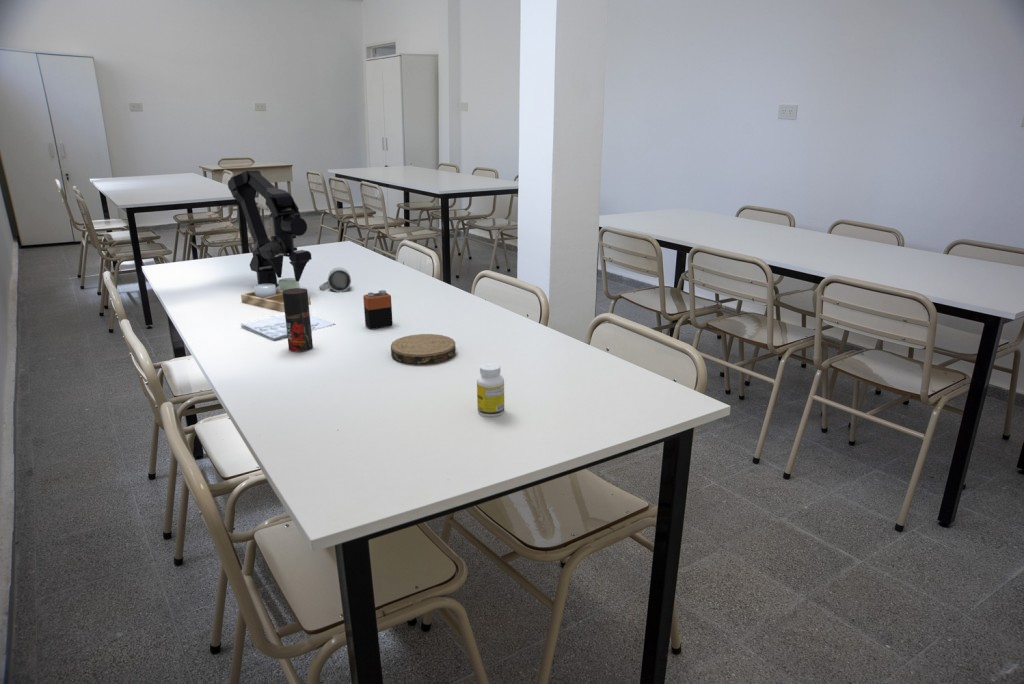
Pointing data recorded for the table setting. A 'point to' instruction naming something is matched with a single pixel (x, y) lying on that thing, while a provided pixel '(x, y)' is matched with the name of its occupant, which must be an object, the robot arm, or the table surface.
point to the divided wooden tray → (267, 301)
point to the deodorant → (297, 319)
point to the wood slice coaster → (423, 349)
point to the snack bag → (280, 326)
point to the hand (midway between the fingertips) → (288, 279)
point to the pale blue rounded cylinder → (265, 290)
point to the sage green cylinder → (288, 284)
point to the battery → (378, 310)
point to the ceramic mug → (337, 280)
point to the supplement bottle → (490, 390)
